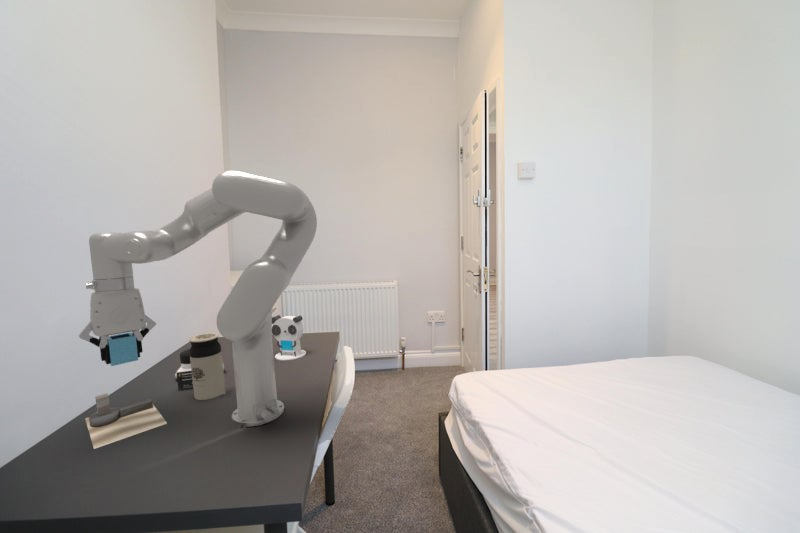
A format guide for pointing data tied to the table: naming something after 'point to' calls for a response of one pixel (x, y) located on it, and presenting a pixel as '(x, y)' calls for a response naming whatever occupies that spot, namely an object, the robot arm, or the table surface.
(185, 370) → the medicine bottle
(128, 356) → the hollow square tube
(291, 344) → the panda figurine
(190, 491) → the table surface
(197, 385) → the travel mug
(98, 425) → the door lever plate
